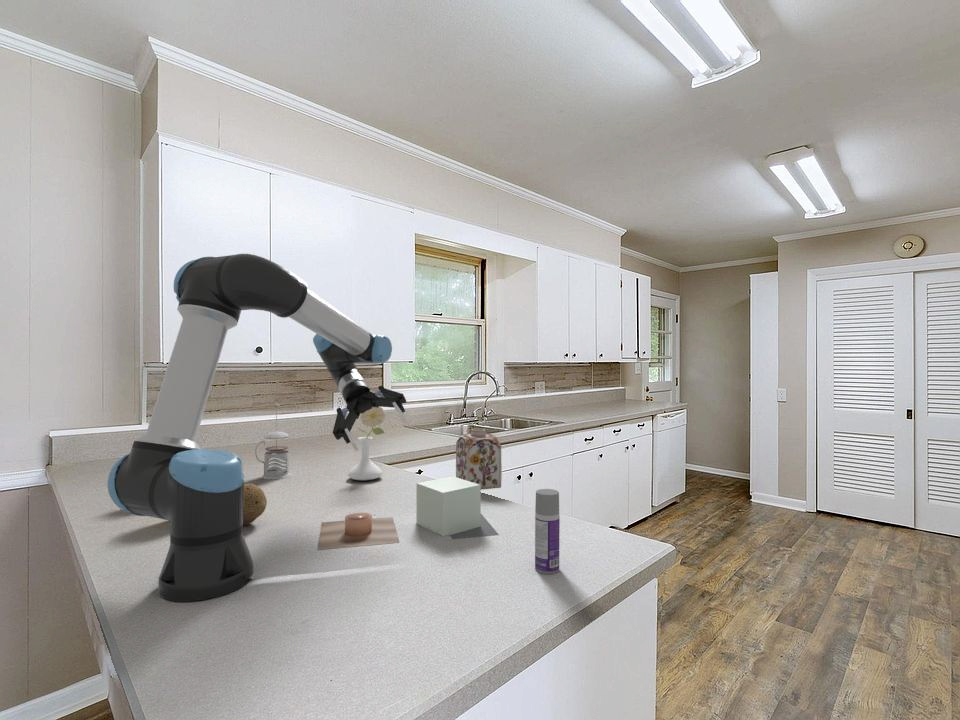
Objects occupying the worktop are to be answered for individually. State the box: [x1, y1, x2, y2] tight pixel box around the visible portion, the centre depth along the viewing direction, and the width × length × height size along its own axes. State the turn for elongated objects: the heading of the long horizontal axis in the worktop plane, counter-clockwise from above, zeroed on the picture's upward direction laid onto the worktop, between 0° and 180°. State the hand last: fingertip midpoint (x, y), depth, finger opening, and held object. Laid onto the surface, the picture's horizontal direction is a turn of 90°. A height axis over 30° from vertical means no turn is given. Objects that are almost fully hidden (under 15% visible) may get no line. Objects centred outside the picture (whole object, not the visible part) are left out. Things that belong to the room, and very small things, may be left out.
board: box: [316, 516, 401, 551], centre depth 116 cm, size 18×17×1 cm
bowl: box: [344, 512, 373, 536], centre depth 116 cm, size 6×6×4 cm
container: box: [534, 488, 561, 575], centre depth 98 cm, size 5×5×15 cm
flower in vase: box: [347, 406, 386, 481], centre depth 169 cm, size 13×11×25 cm
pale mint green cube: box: [415, 476, 482, 537], centre depth 121 cm, size 11×11×10 cm
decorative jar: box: [455, 427, 503, 490], centre depth 161 cm, size 12×12×18 cm
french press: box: [254, 403, 292, 480], centre depth 173 cm, size 10×12×25 cm
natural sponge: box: [243, 483, 268, 526], centre depth 123 cm, size 9×9×10 cm
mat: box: [449, 513, 500, 540], centre depth 121 cm, size 18×20×1 cm
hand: (380, 432), depth 125 cm, fingers open, 13 cm apart
